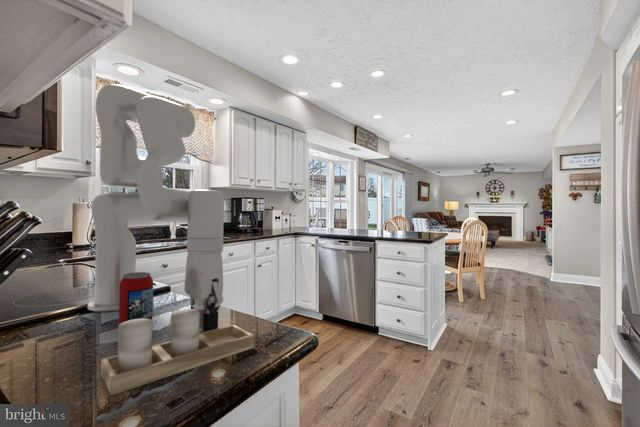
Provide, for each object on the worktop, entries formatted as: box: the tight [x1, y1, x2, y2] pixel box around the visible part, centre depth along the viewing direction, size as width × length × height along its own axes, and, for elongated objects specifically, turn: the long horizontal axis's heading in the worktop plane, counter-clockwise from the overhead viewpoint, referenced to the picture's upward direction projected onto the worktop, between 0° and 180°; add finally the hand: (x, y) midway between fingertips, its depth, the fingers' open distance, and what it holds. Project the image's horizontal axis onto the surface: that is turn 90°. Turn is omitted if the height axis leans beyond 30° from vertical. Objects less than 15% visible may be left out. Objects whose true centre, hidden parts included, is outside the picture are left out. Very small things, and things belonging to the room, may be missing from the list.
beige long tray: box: [100, 308, 255, 396], centre depth 57 cm, size 8×24×8 cm, turn 134°
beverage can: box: [118, 271, 154, 325], centre depth 72 cm, size 7×7×12 cm
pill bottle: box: [193, 295, 214, 333], centre depth 69 cm, size 5×5×8 cm
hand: (204, 325), depth 69 cm, fingers open, 5 cm apart
